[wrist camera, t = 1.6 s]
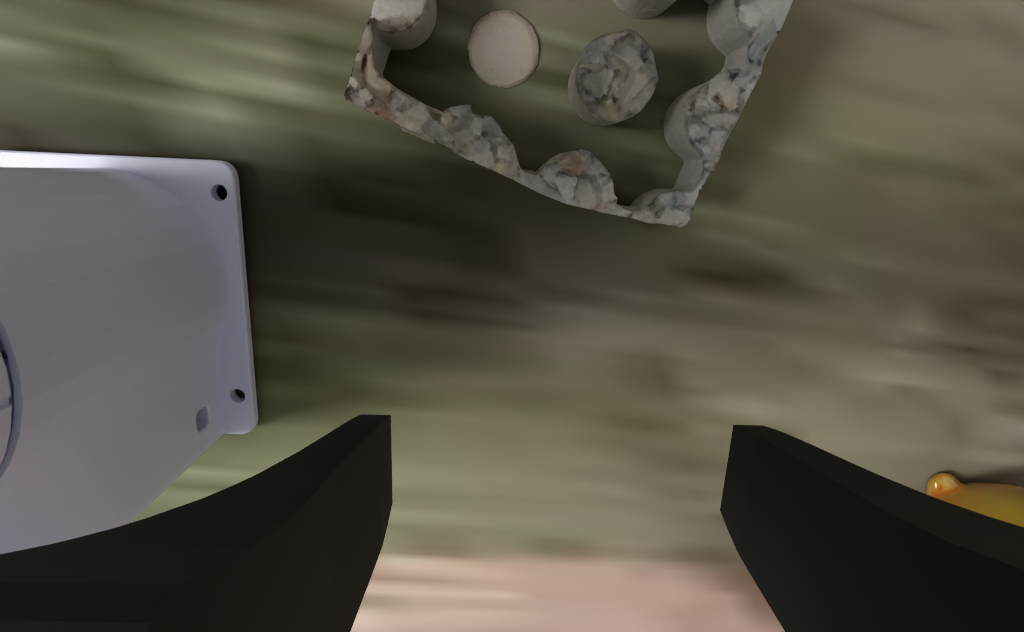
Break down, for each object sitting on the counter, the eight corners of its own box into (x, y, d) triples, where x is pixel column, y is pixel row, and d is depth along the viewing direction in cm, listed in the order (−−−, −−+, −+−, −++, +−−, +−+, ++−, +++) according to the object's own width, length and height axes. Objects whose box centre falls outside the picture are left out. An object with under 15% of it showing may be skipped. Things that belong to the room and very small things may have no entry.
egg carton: (359, 114, 18) (317, 98, 14) (441, -136, 16) (420, -237, 12) (650, 240, 19) (689, 259, 15) (756, 21, 17) (832, -25, 13)
